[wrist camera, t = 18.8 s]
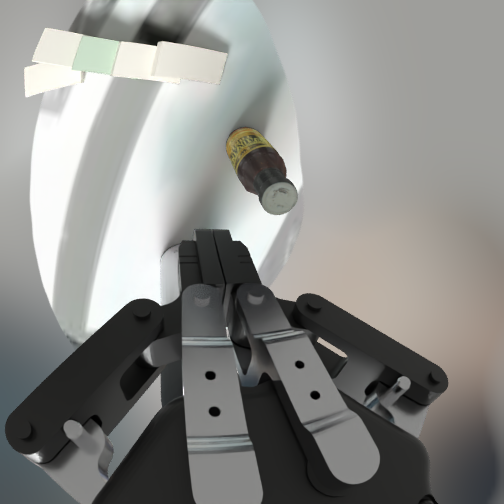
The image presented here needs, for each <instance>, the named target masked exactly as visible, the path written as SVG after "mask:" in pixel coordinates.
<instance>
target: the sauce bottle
mask: <svg viewBox="0 0 504 504" xmlns="http://www.w3.org/2000/svg"><path fill="white" fill-rule="evenodd" d="M226 150H227V154H228V156H229V159H230V161H231V163H232V165H233V167H234V169H235V172H236V174H237V176H238V178H239V180H240V181H241V183H242V184H243V186H244V187H245V189H246V190H247V191H248V192H251V193H254V194H256V195H258V196H259V201H260V203H261V205H262V207H263V208H264V210H265V211H267V212H268V213H270V214H273V215H281V214H285V213H287V212H289V211H290V210H291V209H292V208H293V207H294V206H295V204H296V202H297V196H298V194H297V190H296V188H295V186H294V185H293V183H292V182H291V181H290V180H289V179H287V178H286V167H285V163H284V161H283V159H282V157H280V155H279V154H278V152H277V151H276V150H275V149H274V148H273V147H272V146H271V144H270V143H269V142H268V141H267V140H266V139H265V138H264V137H263V136H262V135H261V134H260V133H259V132H258V131H256V130H254V129H252V128H247V127H243V128H240V129H237V130H235V131H234V132H232V133H231V134H230V136H229V138H228V140H227V143H226Z"/></svg>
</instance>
